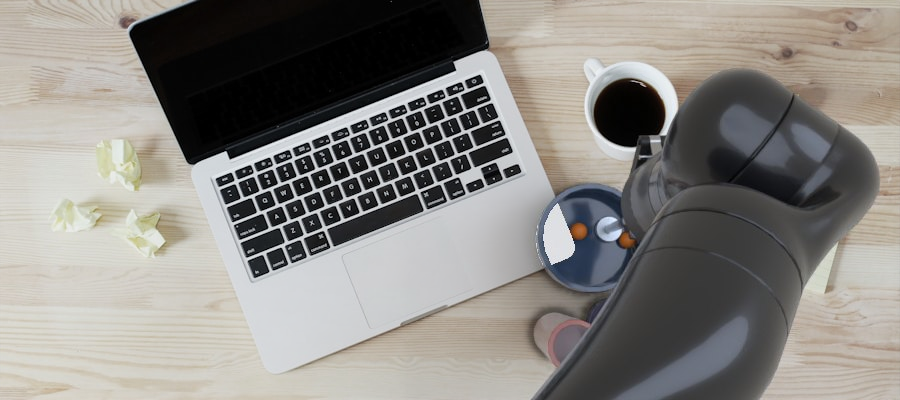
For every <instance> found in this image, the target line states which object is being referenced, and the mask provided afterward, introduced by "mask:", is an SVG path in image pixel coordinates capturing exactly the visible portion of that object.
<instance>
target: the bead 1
mask: <svg viewBox="0 0 900 400" xmlns="http://www.w3.org/2000/svg"><path fill="white" fill-rule="evenodd" d="M570 233H571V235H572V237H573V238H574V239H576V240H581V239H583V238H585V236H586V235H587V228H586V226H585V225H584V224H582V223H575V224H573V225H572V226H571V228H570Z"/></svg>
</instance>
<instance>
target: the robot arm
mask: <svg viewBox="0 0 900 400" xmlns="http://www.w3.org/2000/svg"><path fill="white" fill-rule="evenodd" d="M673 116H674V117H673V118H672V120H671V122H670V124H669V127H668V129H667V132H666V134H664V135H663V134H660V135H658V134H656V135H655V134H654V135H653V134H652V135H638V139H637V141H636V142H637V143H636V147H635V152H634V156H633V160H632V163H631V167H630V171H629V175H628V178H627V180H626V181H625V183H624V185H623V188H622V191H621V192H622V195H621V210H622V215H623V218H624V221H625V223H626V225H624V233H629V239H636V241H637V244H633V245H632V248H631V253H632V255H633V256H632V258H631V259H630V261H629V263H628V265H627V266H626V268H625V270H624V272H623V273H622V275H621V277H620V278H619V280H618V282H617V284H616V285H615V287H614V289H611V292H610V294H609V295H608V297H607V298H608V299H607V301H606V302H605V304H604V305H603V307H602V308H601V310H600V311H599V313H598V314H597V316H596V318H595V319H594V321H593V322H592V324H591V325H590V327H589V328H588V329H587V331H586V332H585V333H584V335H583V336H582V337H581V339H580V340H579V341H578V343H577V344H576V345H575V347H574V348H573V349H572V350H571V352H570V353H569V354H568V355H567V356H566V358H565V359H564V360H563V361H562V363H561V364H560V365H559V366H558V368H557V367H556V369H555V370H554V371H553V372H552V373H551V374H550V376H549V377H548V378H547V380H546V381H545V382H544V383H543V384H542V385H541V386H540V388H539V389H538V390H537V391H536V392H535V394H534V395H533V396H532V397H531V398H530V400H761V398H762V397H763V395H764V394H765V392H766V390H767V389H768V387H769V386H770V385H771V383H772V381H773V380H774V377H775V374H776V372H777V370H778V368H779V365H780V362H781V359H782V356H783V353H784V351H785V346H786V344H787V342H788V338H789V336H790V333H791V330H792V327H793V323H794V320H795V317H796V314H797V311H798V309H799V306H800V303H801V299H802V296H803V292H804V290H805V288H806V286H807V284H808V283H809V281H810V279H811V278H812V276H813V275H814V273H815V272H816V270H817V269H818V267H819V266H820V264H821V263H822V261H823V260H824V259H825V258H826V257H827V255H828V254H829V253H830V252H831V250H832V249H833V248H834V247H835V246H836V245H837V244H838V243H840V241H841V240H842V239H843V238H844V237H846V235H847V234H849V233H850V232H851V231H852V230H853V229H854V228H855V227H856V226H857V225H858V224H859V223H860V222H861V220H863V218H864V217H865V216H866V214H868V212H869V211H870V209H871V208H872V207H873V206H874V204H875V202H876V199H877V197H878V195H879V192H880V187H881V175H880V169H879V165H878V162H877V160H876V158H875V156H874V154H873V152H872V150H871V149H870V147H868V145H867V144H866V143H865V142H864V141H863V140H862V139H860V137H858V136H857V135H855V134H854V133H853V132H851V131H850V130H849V129H847V128H845V126H842V125H841V124H840V123H838V122H837V121H835V120H834V119H833V118H831V117H830V116H829V115H827V114H825V113H824V112H823V111H821V110H820V109H818V108H817V107H815V106H814V105H813V104H811V103H810V102H808V101H807V100H805V99H804V98H803V97H801V96H800V95H798V94H797V93H795V92H793V90H792V89H790V88H789V87H787V86H786V85H785V84H783V83H782V82H780V81H778V80H777V79H776V78H774V77H773V76H772V75H771V76H770V75H769V74H767V73H765V72H762V71H760V70H757V69H753V68H748V67H747V68H746V67H737V68H735V67H734V68H729V69H724V70H720V71H718V72H716V73H714V74H712V75H710V76H709V77H707V78H705V79H704V80H702V82H700V83H699V84H698V85H697V86H696V87H695V88H694V89H692V90H691V92H690V93H689V94H688V95H687V97H686V98H685V99H684V101H683V102H682V103H681V105H680V106H679V108H678V109H677V110H676V113H675V114H674V115H673Z"/></svg>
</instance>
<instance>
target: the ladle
mask: <svg viewBox="0 0 900 400" xmlns="http://www.w3.org/2000/svg"><path fill="white" fill-rule="evenodd" d="M624 225H626V223H625V221H624V218H622V219H619V220H618V219H617V218H615V217H612V216H606V217H603V218H601V219H600V220H599V221H598V222H597V223H596V226H595V233H596V235H597V237H598V238H599V239H600V240H601V241H603V242H613V241H615V240H617V239H618V238H619V237H620V236H621V234H622V228H624Z"/></svg>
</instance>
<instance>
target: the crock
mask: <svg viewBox="0 0 900 400" xmlns="http://www.w3.org/2000/svg"><path fill="white" fill-rule="evenodd" d="M590 325H591V324H590V323H588V322H586V320H582V319H580V318H576V317H574V316H569V315H566V314H565V313H560V312H548V313H546V314H544V315H542V316H541V317H540V318H539V319H537V321H536V323H535V325H534V326H533V327H534V328H533V339H534V342H535V345H536V346H537V348H538V349H539V350H540V351H541V352H542V353H543V354H544V356H545V357H546V358H547V359H548V360H549V361H550V363H552V364H553V365H554V366H555V367H556V369H557V368H558V366H559V365H560V364H561V363H562V361H563V360H564V359H565V358H566V356H567V355H568V354H569V353H570V352H571V350H572V349H573V348H574V347H575V345H576V344H577V343H578V341H579V340H580V339H581V337H582V336H583V335H584V333H585V332H586V331H587V329H588V328H589V327H590Z"/></svg>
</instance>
